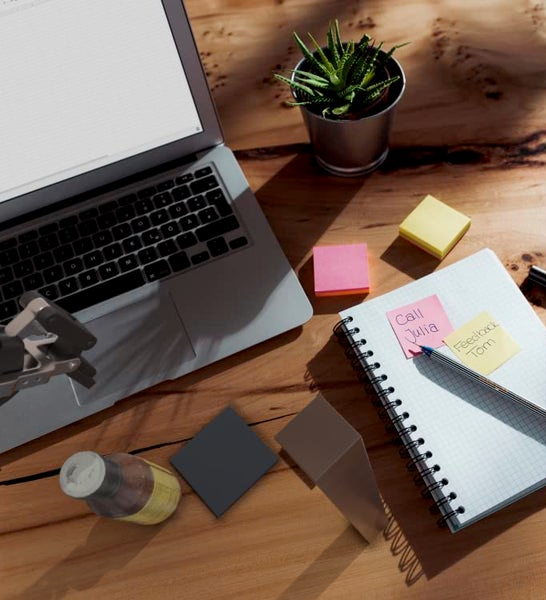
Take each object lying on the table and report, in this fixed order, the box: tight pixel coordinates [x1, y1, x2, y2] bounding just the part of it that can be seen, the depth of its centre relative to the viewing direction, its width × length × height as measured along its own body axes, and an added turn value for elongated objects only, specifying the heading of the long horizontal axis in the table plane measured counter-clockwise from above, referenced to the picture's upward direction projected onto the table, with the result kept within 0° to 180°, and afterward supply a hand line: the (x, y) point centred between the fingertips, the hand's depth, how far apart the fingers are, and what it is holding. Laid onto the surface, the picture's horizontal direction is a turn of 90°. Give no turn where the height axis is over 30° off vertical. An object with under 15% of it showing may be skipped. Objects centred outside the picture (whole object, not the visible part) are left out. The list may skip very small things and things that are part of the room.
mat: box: [168, 405, 280, 518], centre depth 76 cm, size 9×9×1 cm
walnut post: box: [273, 393, 390, 544], centre depth 52 cm, size 3×3×46 cm
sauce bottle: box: [58, 450, 183, 526], centre depth 66 cm, size 6×6×20 cm
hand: (39, 420), depth 48 cm, fingers open, 8 cm apart
